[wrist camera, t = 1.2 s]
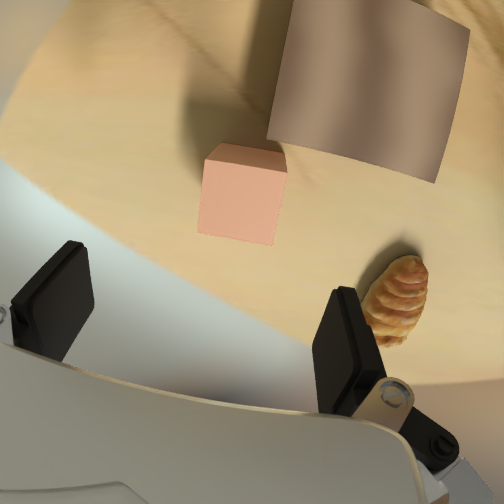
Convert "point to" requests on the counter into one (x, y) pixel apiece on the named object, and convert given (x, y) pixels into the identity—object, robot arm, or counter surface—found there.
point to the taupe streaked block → (370, 82)
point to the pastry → (396, 300)
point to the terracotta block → (242, 193)
